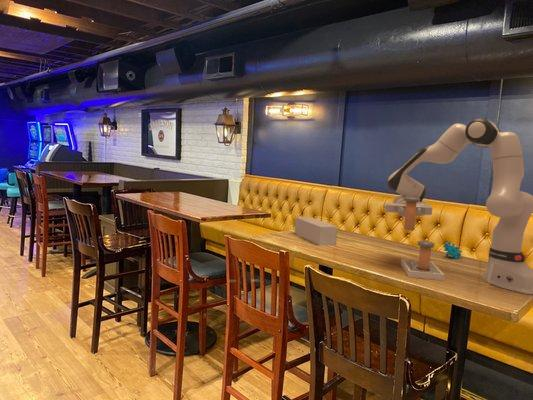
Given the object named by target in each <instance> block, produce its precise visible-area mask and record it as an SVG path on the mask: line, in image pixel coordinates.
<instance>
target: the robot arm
mask: <svg viewBox="0 0 533 400" xmlns="http://www.w3.org/2000/svg"><path fill="white" fill-rule="evenodd" d="M469 144H471V145H474V146H478V147H481V148H489V149H490V151H491V161H492V173H493V177H492V178H493V180H492V185H491V186H492V187H491V192H490V195H489V196H488V198H487V199H486V202H485V207H486V209H487V211H488V213H489V214H491V216H494V217H496V218H499V220H498V222H497V224H496V225H495V227H494V228H493V230H492V237H491V245H490V247H489V251H488V260H489V262H487V263H488V264H487V266H486V269H485V273H484V275H483V276H482V280H484V281H486V282H487V283H490V284H489V285H490V286H494V287H498V288H502V289H506V290H509V291H513V292H517V293H522V294H525V295H533V268H531V267H530V265H528V264H527V263H526V262H525V259H527V258H528V255H527V254H524V253H523V252H522V247H523V240H524V235H525V231H526V228H527V225H528V222H529V220H530V218H531V215H532V214H533V195H532V194H530V193H529V192H525V191H522V190H521V185H522V181H523V179H524V177H525V168H524V167H525V166H524V165H525V164H524V157H523V155H524V154H523V149H522V148H523V147H522V145H521V144H522V143H521V141H520V138H519V136H518V134H516V133H515V132H511V131H503V132H501V130H500V128H499V127H498V126H497V125H496V124H495V123H494V122H492V121H490V120H488V119H487V118H474V119H472V120H471V121H469V122H468V123H467V125H465V124H463V123H454V124H452V125H451V126H450V127H449V128H448V129H447V130H446V131H445V132H444V133H442V135H441V136H440V137H439V138H438V139H437V141H435V143H433V144H431V145H427V146H423V147H422V148H420V149H418V151H416V152H415V153H414V154H413V155H412V156H411V157H410V158H409V159H408V160H406V161H405V162H404V163H403V164H402V165H401V166H400V167H399V168H398V169H397V170H395V171H394V172H393V173H391V174H390V176H388V179H387V182H386V183H387V187H388V189H389V190H392V191H393V192H395V193H397V194H399V195H400V196H397V197H395V198H394V199H393V200H392V202H386V203H385V205H383V208H384V210H385V213H394V214H395V213H396V214H398V215H399V216H400V217H403V218H405V212H406V201H404V197H412V198H420V202H417V206H416V217H417V216H418V217H419V216H420V217H421V216H432V215H433V206H431V205H430V204H427V203H426V201H423V200H424V198H425V197H426V186H425V185H424V184H422V183H421V182H419V181H418V180H416V179H414V178H413V177H411V176H409V175H408V173H410V171H412V169H414V168H415V167H416V166H417V165H418V164H419V163H422V162H429V163H432V164H433V163H434V164H440V165H445V164H449V163H452V162H453V160H455V159H456V158H457V156H458V155H460V153H461V152H462V151H463V149H464V148H465V147H466V146H468V145H469Z"/></svg>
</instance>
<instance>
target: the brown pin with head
mask: <svg viewBox="0 0 533 400" xmlns="http://www.w3.org/2000/svg"><path fill="white" fill-rule="evenodd" d="M404 201H406V212H405V217H404V224H403V230H404V231H415V226H416V217H417V216H416V206H417V202H420V198H412V197H404Z"/></svg>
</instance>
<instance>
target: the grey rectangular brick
mask: <svg viewBox="0 0 533 400" xmlns="http://www.w3.org/2000/svg"><path fill="white" fill-rule="evenodd" d="M294 218H295V220H294V233H296V234H297V235H296V234H295V235H296V236H298V235H299V237H300V236H301V237H300V238H302V237H303V238H302V239H304V238H305V240H306V239H307V241H308V242H311V243H313V244H315V245H317V246H321V245H324V246H337V235H338V226H337V225H333V224H331V223H328V222H325V221H322V220H320V219H318V218H314V217H312V216H296V217H294ZM321 247H322V246H321Z"/></svg>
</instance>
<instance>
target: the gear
mask: <svg viewBox="0 0 533 400" xmlns="http://www.w3.org/2000/svg"><path fill="white" fill-rule="evenodd" d="M443 247H444V249H443V250H444V251H445V252H446V254H445V256H446V257H448V256H449V257H450V258H451V259H452V258H453V259H454V260H457V259H460V258H461V256H462V254H461V253H462V252H463V250H462V249H459V246H456V244H455V243H451V241H449V242H445V243H444V245H443Z"/></svg>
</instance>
